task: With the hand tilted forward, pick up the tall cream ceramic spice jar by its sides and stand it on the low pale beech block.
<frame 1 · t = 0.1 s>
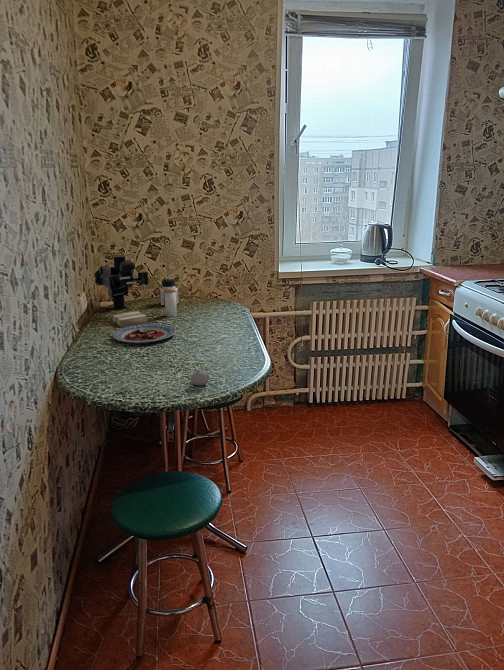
hand: (134, 283, 247), 17 cm above the table, tool horizontal, fingers open, 9 cm apart
garlic: (200, 385, 172), on the table
base block: (130, 321, 246), on the table
container: (169, 304, 278), on the table
ceramic plate: (145, 337, 223), on the table
jar: (171, 315, 255), on the table
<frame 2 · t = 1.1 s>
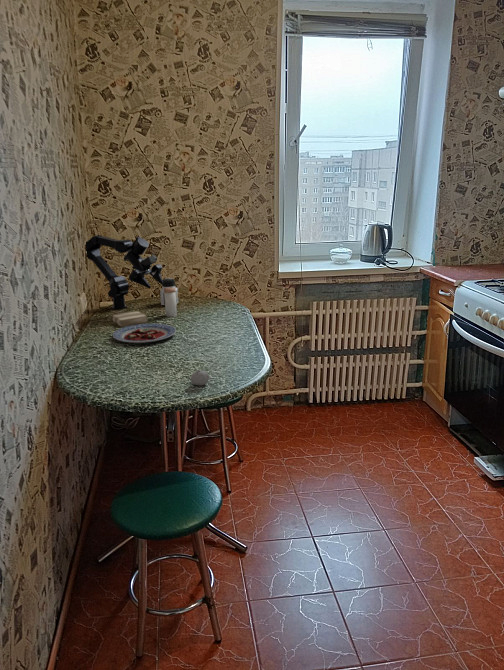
hand: (156, 286, 255), 13 cm above the table, tool tilted 45°, fingers open, 9 cm apart
nothing on the table moved.
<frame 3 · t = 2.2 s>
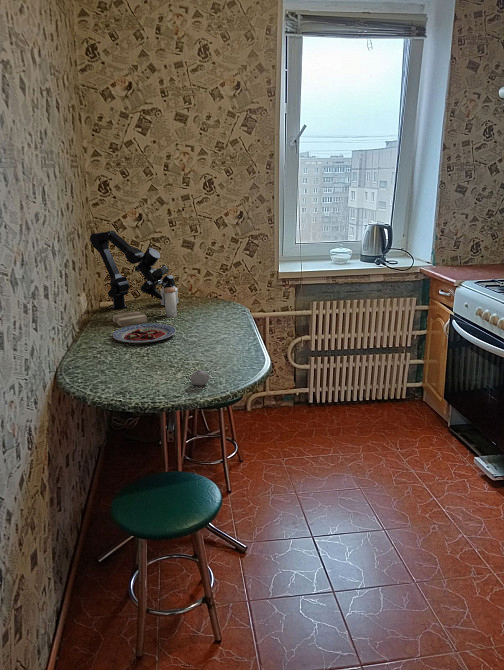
hand: (168, 297, 253), 9 cm above the table, tool tilted 45°, fingers open, 9 cm apart
nothing on the table moved.
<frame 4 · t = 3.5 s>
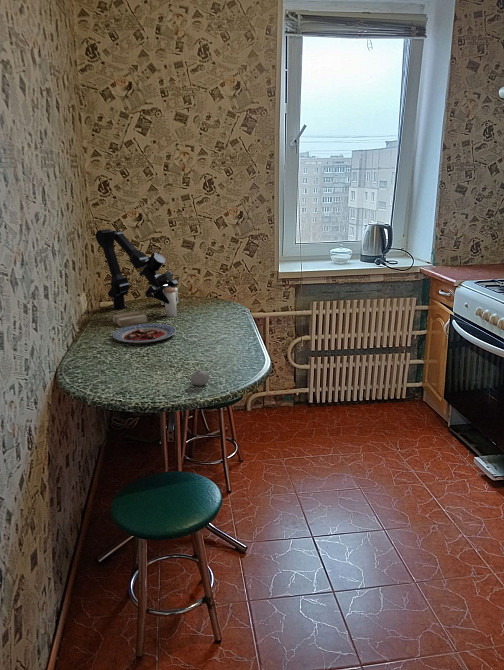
hand: (172, 302, 252), 7 cm above the table, tool tilted 45°, fingers closed on jar, 5 cm apart
jar: (171, 315, 255), on the table, touching gripper
everything else where it was.
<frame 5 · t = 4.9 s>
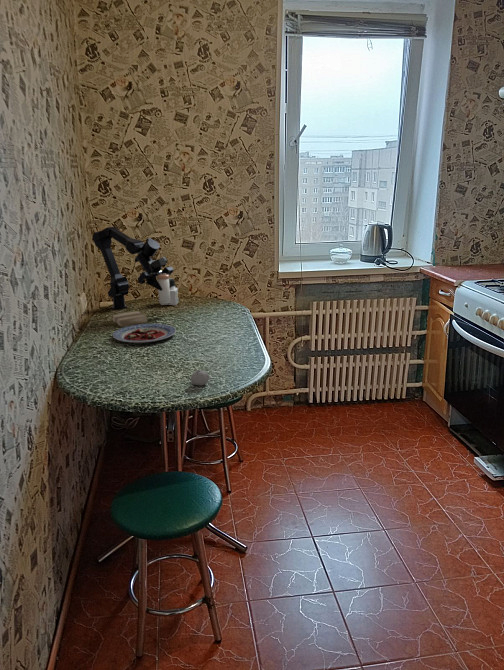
hand: (166, 289, 248), 13 cm above the table, tool tilted 45°, fingers closed on jar, 5 cm apart
jar: (164, 302, 251), point 7 cm above the table, touching gripper
everything else where it was.
when the fingers open (10 cm above the table, at t = 6.8 s): jar stays where it is, resting on base block.
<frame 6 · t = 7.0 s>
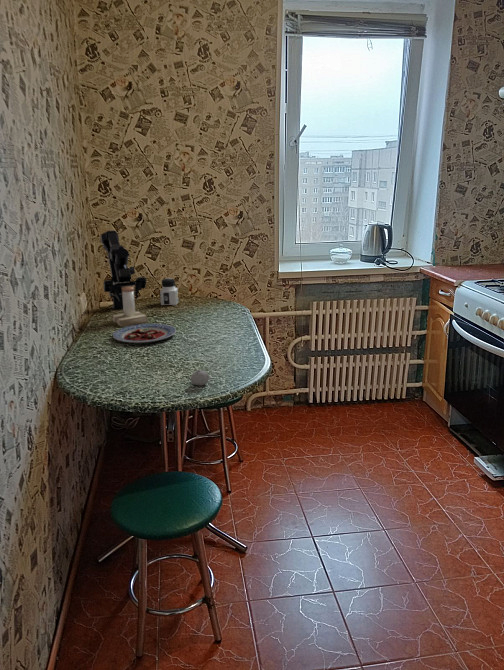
hand: (128, 299, 242), 11 cm above the table, tool tilted 45°, fingers open, 7 cm apart
jar: (129, 315, 245), point 3 cm above the table, touching base block
everything else where it was.
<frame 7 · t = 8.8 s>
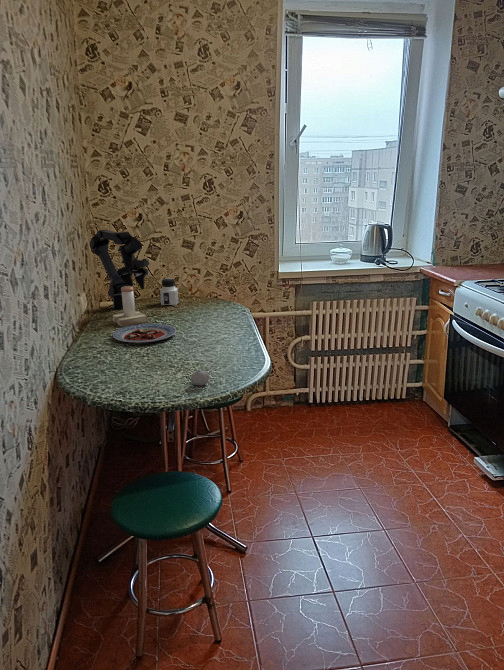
hand: (137, 289, 254), 13 cm above the table, tool tilted 25°, fingers open, 9 cm apart
nothing on the table moved.
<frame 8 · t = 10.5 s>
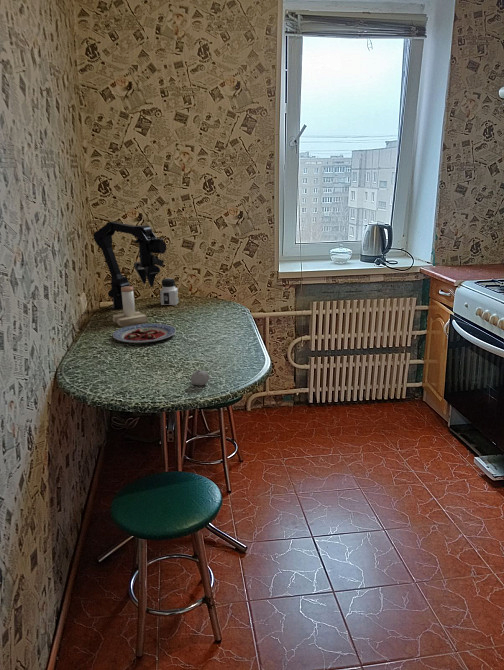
hand: (148, 285, 260), 13 cm above the table, tool pointing down, fingers open, 9 cm apart
nothing on the table moved.
at the end: jar inside the target area on the base block (0.0 cm from its centre), point 3.0 cm above the base block's base; jar tilted 1°; the gripper is holding nothing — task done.
